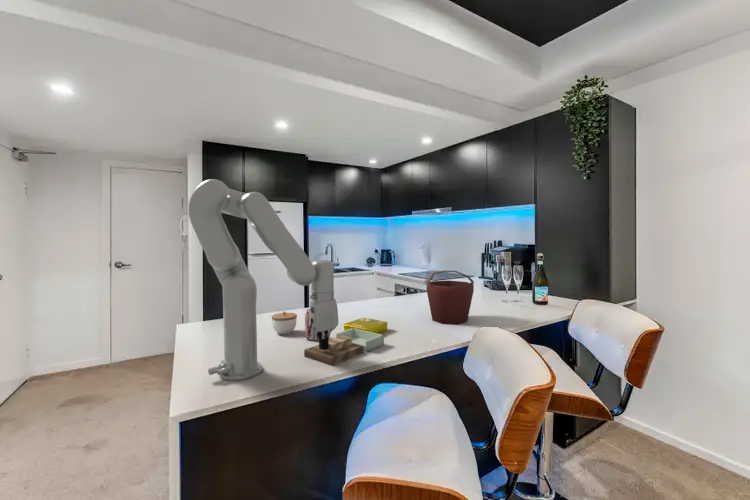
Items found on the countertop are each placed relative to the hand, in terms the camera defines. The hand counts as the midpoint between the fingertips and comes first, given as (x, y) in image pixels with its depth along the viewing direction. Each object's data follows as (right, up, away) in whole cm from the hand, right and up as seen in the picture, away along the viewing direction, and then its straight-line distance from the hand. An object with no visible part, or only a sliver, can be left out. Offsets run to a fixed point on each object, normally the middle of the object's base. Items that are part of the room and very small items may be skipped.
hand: (323, 348), depth 116 cm
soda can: (-8, -3, +23) cm, 24 cm away
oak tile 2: (+6, -1, +7) cm, 9 cm away
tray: (+12, -3, +15) cm, 20 cm away
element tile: (+14, -3, +33) cm, 36 cm away
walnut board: (+3, -3, +4) cm, 6 cm away
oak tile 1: (+2, -1, +3) cm, 4 cm away
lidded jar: (-22, -3, +32) cm, 39 cm away
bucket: (+55, -1, +53) cm, 76 cm away
